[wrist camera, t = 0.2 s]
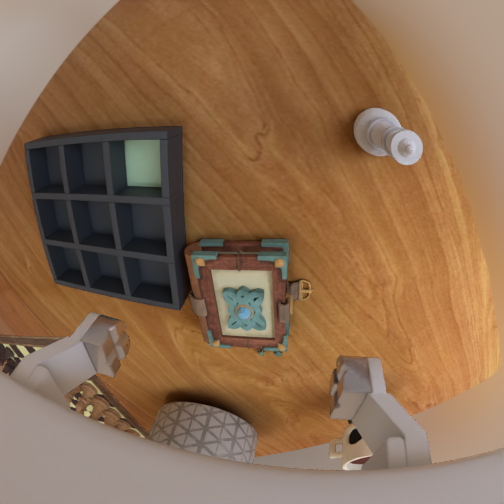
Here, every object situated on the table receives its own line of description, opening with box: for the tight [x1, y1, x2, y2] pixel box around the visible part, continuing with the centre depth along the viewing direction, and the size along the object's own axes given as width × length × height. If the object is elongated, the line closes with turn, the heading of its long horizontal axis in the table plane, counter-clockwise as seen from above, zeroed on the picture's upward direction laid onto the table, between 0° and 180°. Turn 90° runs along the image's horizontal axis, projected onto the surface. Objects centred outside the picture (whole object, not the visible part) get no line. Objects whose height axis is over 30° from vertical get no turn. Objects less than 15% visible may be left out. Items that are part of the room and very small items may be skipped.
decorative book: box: [184, 239, 313, 357], centre depth 34 cm, size 13×18×5 cm
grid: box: [24, 126, 190, 310], centre depth 32 cm, size 20×20×4 cm
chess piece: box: [353, 108, 423, 165], centre depth 20 cm, size 4×4×10 cm
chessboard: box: [0, 335, 149, 439], centre depth 59 cm, size 45×45×10 cm
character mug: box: [329, 420, 373, 470], centre depth 36 cm, size 11×7×13 cm, turn 108°
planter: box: [147, 402, 258, 464], centre depth 44 cm, size 19×19×18 cm
